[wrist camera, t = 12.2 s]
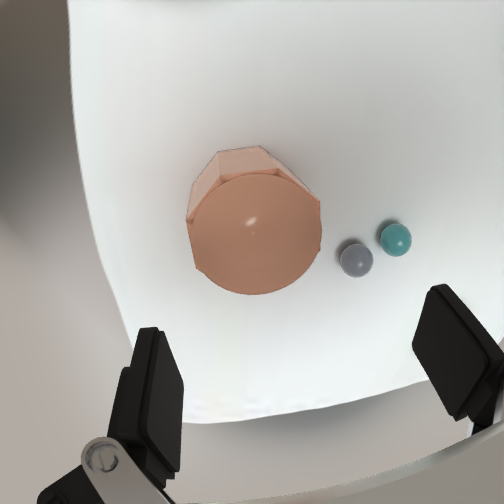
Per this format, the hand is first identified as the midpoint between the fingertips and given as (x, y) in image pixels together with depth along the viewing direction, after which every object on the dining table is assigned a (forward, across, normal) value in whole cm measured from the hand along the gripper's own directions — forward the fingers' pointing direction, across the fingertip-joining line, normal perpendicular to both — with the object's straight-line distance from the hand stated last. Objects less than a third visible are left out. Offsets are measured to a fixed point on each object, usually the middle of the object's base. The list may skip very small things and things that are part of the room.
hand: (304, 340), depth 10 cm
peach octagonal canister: (+16, +1, 0) cm, 16 cm away
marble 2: (+14, -12, +6) cm, 19 cm away
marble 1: (+14, -8, +7) cm, 18 cm away
